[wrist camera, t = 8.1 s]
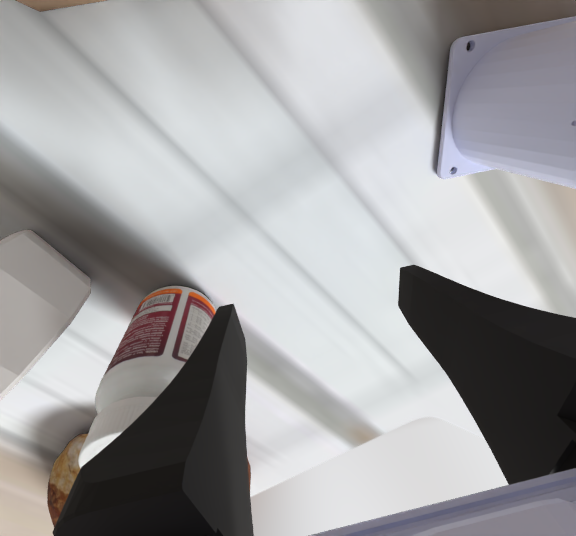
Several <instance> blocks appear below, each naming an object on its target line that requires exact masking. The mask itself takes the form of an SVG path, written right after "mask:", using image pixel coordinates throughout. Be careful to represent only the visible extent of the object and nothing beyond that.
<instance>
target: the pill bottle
mask: <svg viewBox="0 0 576 536" xmlns="http://www.w3.org/2000/svg"><path fill="white" fill-rule="evenodd" d="M215 313H216V309H215V307H214V305H213V304H212V302H211V301H210V300H209V299H208V298H207V297H206V296H205V295H203V294H202V293H200V292H199V291H197V290H194V289H191V288H188V287H183V286H167V287H163V288H160V289H157V290H155V291H153V292H151V293H150V294H148V295H147V296H146V297H145V298H144V299H143V300H142V302H141V303H140V305H139V306H138V308H137V310H136V312H135V314H134V316H133V318H132V321H131V322H130V324H129V326H128V328H127V331H126V332H125V335H124V337H123V338H122V340H121V342H120V344H119V347H118V349H117V350H116V353H115V355H114V357H113V359H112V361H111V363H110V364H109V366H108V368H107V371H106V372H105V374H104V376H103V378H102V380H101V382H100V385H99V387H98V390H97V393H96V398H95V407H96V411H97V414H98V415H97V416H96V417H95V419H94V421H93V423H92V426H91V428H90V431H89V433H88V435H87V438H86V440H85V442H84V444H83V446H82V448H81V451H80V454H79V458H78V462H79V466H80V469H81V467H82V466H83V465H85V464H86V463H87V462H88V461H90V460H91V459H92V458H93V457H94V456H95V455H97V454H98V453H99V452H100V451H101V450H103V449H104V448H105V447H106V446H107V445H108V444H110V443H111V442H112V441H113V440H114V439H116V438H117V437H118V436H119V435H120V434H121V433H122V432H123V431H124V430H125V429H126V428H128V427H129V426H130V425H131V424H132V423H133V422H134V421H135V420H136V419H137V418H138V417H139V416H140V415H141V414H142V413H143V412H144V411H145V410H146V409H147V408H148V407H149V406H150V405H151V404H152V403H153V402H154V400H155V399H156V398H157V397H158V396H159V395H160V394H161V393H162V392H163V391H164V389H165V388H166V387H167V386H168V385H169V384H170V383H171V381H172V380H173V379H174V378H175V376H176V375H177V374H178V372H179V371H180V370H181V368H182V367H183V366H184V364H185V363H186V361H187V360H188V358H189V357H190V355H191V354H192V352H193V351H194V349H195V348H196V346H197V345H198V343H199V341H200V340H201V338H202V336H203V335H204V333H205V331H206V329H207V328H208V326H209V324H210V322H211V320H212V318H213V317H214V315H215Z"/></svg>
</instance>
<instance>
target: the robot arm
mask: <svg viewBox="0 0 576 536" xmlns="http://www.w3.org/2000/svg"><path fill="white" fill-rule="evenodd" d="M468 42H469V43H470V49H469V50H468V51H467V50H466V46H467V43H468ZM452 167H453V168H454V169H453V171H452V172H451V173H450V170H451V168H452ZM493 169H499V170H503V171H507V172H511V173H515V174H519V175H523V176H527V177H531V178H535V179H539V180H543V181H547V182H551V183H555V184H559V185H562V186H566V187H570V188H574V189H576V16H574V17H568V18H563V19H557V20H552V21H546V22H541V23H535V24H530V25H524V26H519V27H513V28H508V29H502V30H497V31H491V32H486V33H480V34H475V35H469V36H464V37H460V38H458V39H456V40H455V41H454V42H453V44H452V45H451V49H450V57H449V66H448V75H447V84H446V94H445V103H444V112H443V121H442V131H441V140H440V149H439V158H438V167H437V176H438V177H439V178H441V179H448V178H453V177H458V176H463V175H468V174H473V173H478V172H483V171H488V170H493ZM398 306H399V308H400V309H401V311H402V313H403V315H404V317H405V318H406V320H407V322H408V324H409V325H410V326H411V328H412V329H413V330H414V332H415V333H416V334H417V336H418V337H419V338H420V340H421V341H422V342H423V344H424V345H425V346H426V347H427V349H428V350H429V351H430V353H431V354H432V355H433V356H434V358H435V359H436V360H437V362H438V363H439V364H440V366H441V367H442V368H443V370H444V371H445V372H446V374H447V375H448V377H449V378H450V380H451V382H452V383H453V385H454V386H455V388H456V390H457V391H458V393H459V394H460V396H461V398H462V399H463V401H464V403H465V404H466V406H467V408H468V410H469V411H470V413H471V415H472V416H473V418H474V420H475V421H476V423H477V425H478V427H479V429H480V431H481V432H482V434H483V436H484V438H485V440H486V441H487V443H488V445H489V447H490V449H491V450H492V453H493V455H494V456H495V458H496V460H497V462H498V464H499V466H500V468H501V470H502V472H503V474H504V476H505V478H506V480H507V482H508V484H509V485H507V486H503V487H499V488H495V489H491V490H487V491H483V492H479V493H475V494H471V495H468V496H463V497H459V498H455V499H451V500H448V501H444V502H440V503H436V504H432V505H428V506H424V507H420V508H416V509H412V510H408V511H404V512H400V513H396V514H392V515H388V516H384V517H380V518H376V519H372V520H369V521H364V522H361V523H357V524H353V525H349V526H345V527H341V528H337V529H333V530H329V531H325V532H321V533H318V534H313V535H309V536H576V318H573V317H568V316H563V315H558V314H554V313H550V312H546V311H541V310H537V309H533V308H530V307H526V306H522V305H519V304H516V303H512V302H509V301H506V300H502V299H499V298H496V297H493V296H490V295H488V294H485V293H482V292H480V291H477V290H474V289H472V288H469V287H467V286H464V285H462V284H459V283H457V282H454V281H452V280H450V279H447V278H445V277H443V276H440V275H438V274H436V273H433V272H431V271H429V270H426V269H424V268H421V267H419V266H416V265H411V266H406V267H401V268H400V281H399V301H398ZM246 375H247V355H246V343H245V337H244V334H243V331H242V328H241V325H240V322H239V319H238V316H237V313H236V310H235V307H234V304H230V305H225V306H221V307H219V308H218V309H217V311H216V313H215V315H214V317H213V318H212V320H211V322H210V324H209V326H208V328H207V329H206V331H205V333H204V335H203V336H202V338H201V340H200V341H199V343H198V345H197V346H196V348H195V349H194V351H193V352H192V354H191V355H190V357H189V358H188V360H187V361H186V363H185V364H184V366H183V367H182V368H181V370H180V371H179V372H178V374H177V375H176V376H175V378H174V379H173V380H172V381H171V383H170V384H169V385H168V386H167V387H166V388H165V389H164V391H163V392H162V393H161V394H160V395H159V396H158V397H157V398H156V399H155V400H154V402H153V403H152V404H151V405H150V406H149V407H148V408H147V409H146V410H145V411H144V412H143V413H142V414H141V415H140V416H139V417H138V418H137V419H136V420H135V421H134V422H133V423H132V424H131V425H130V426H129V427H128V428H126V429H125V430H124V431H123V432H122V433H121V434H120V435H119V436H118V437H117V438H116V439H114V440H113V441H112V442H111V443H110V444H108V445H107V446H106V447H105V448H104V449H103V450H101V451H100V452H99V453H98V454H97V455H95V456H94V457H93V458H92V459H91V460H90V461H88V462H87V463H86V464H85V465H83V466H82V467H81V469H80V471H79V473H78V475H77V477H76V479H75V481H74V483H73V486H72V488H71V490H70V492H69V495H68V497H67V499H66V502H65V504H64V506H63V509H62V511H61V513H60V516H59V518H58V520H57V522H56V525H55V527H54V530H53V535H54V536H253V524H252V514H251V502H250V490H249V478H248V464H247V449H246V432H245V400H246Z"/></svg>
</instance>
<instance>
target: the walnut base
mask: <svg viewBox="0 0 576 536" xmlns="http://www.w3.org/2000/svg"><path fill="white" fill-rule="evenodd" d="M16 1H18V2H20V3H22V4H24V5H27V6H29V7H31V8H33V9H35V10H38V11H40V12H41V11H47V10H53V9H58V8H64V7H70V6H76V5H82V4H88V3H94V2H100V1H106V0H16Z"/></svg>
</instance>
